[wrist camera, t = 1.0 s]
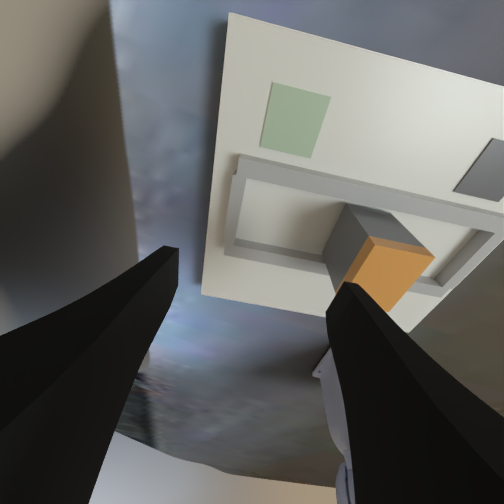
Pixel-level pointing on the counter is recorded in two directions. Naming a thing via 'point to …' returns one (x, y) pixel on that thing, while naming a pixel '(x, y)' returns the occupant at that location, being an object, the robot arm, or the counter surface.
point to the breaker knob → (374, 254)
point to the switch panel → (345, 166)
